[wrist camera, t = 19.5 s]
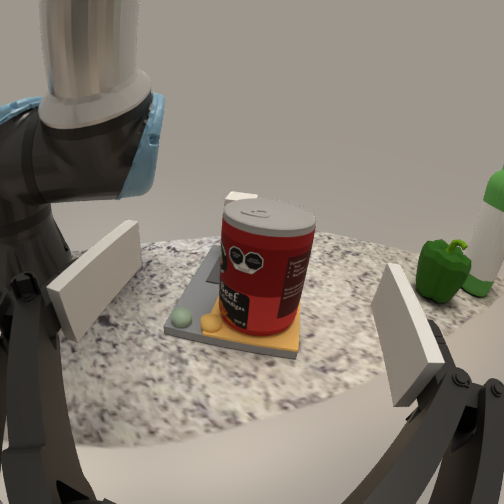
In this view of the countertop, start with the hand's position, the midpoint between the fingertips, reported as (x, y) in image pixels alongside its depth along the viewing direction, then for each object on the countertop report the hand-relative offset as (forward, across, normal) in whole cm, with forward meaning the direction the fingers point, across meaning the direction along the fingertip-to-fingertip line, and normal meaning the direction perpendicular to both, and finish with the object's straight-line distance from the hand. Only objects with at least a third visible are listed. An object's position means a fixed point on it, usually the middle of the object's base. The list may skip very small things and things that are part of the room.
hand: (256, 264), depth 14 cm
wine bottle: (+26, +38, -14) cm, 48 cm away
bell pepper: (+22, +26, -14) cm, 36 cm away
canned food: (+10, 0, -12) cm, 16 cm away
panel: (+15, -2, -14) cm, 20 cm away
